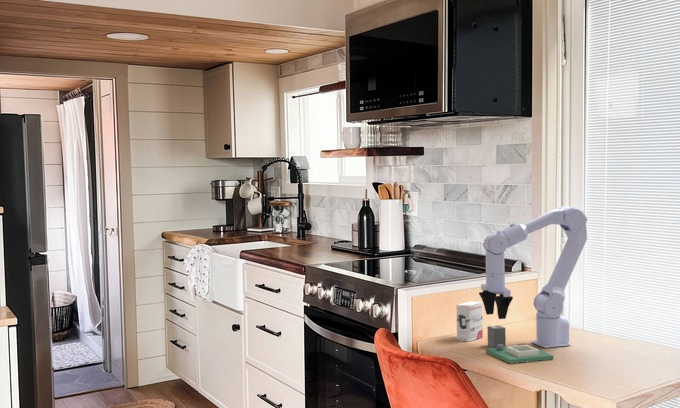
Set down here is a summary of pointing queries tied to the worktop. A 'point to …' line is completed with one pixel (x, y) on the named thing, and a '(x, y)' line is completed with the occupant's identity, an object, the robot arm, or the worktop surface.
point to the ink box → (469, 321)
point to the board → (518, 353)
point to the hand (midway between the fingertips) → (495, 316)
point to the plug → (496, 336)
